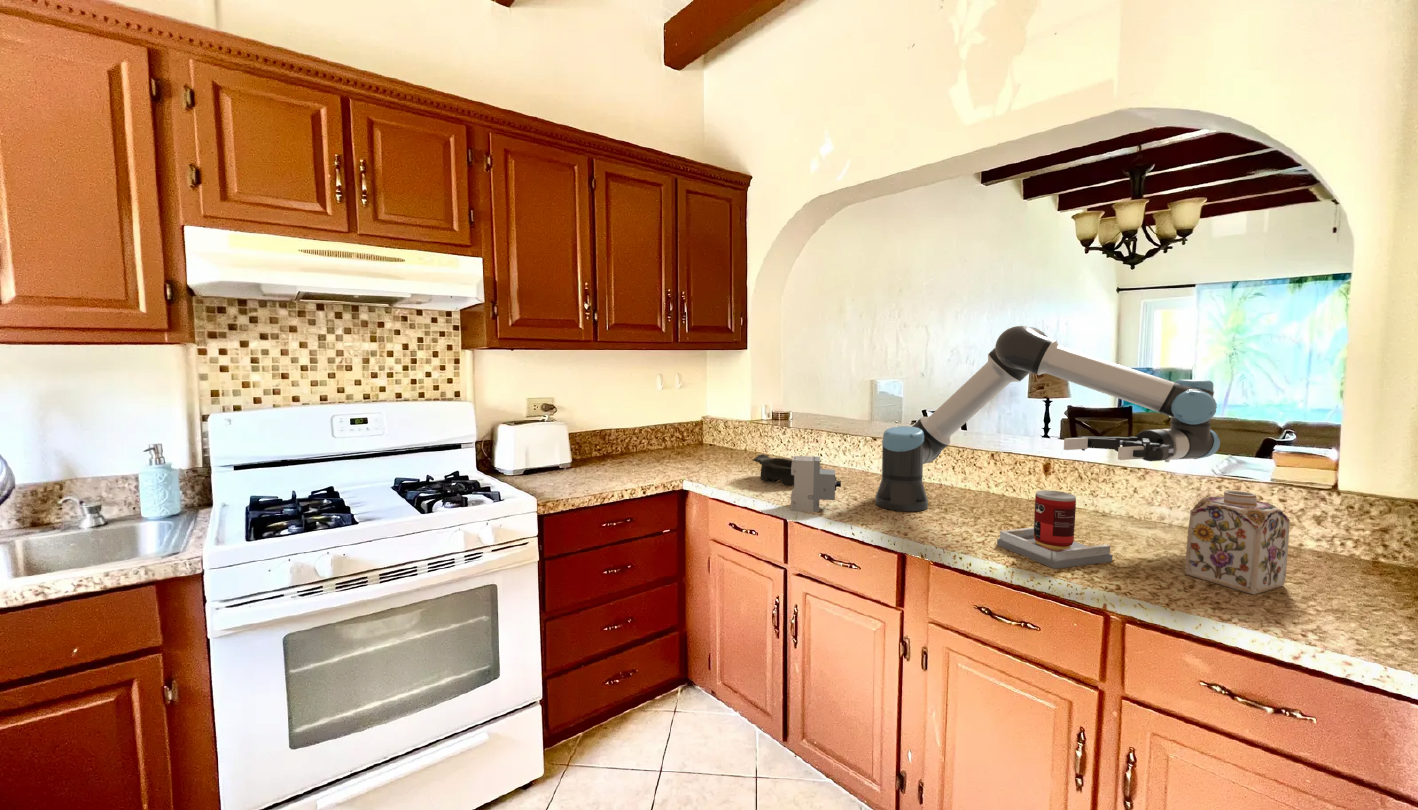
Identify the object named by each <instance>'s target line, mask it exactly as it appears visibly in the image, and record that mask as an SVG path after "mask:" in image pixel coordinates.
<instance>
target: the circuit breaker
mask: <svg viewBox="0 0 1418 810" xmlns="http://www.w3.org/2000/svg"><path fill="white" fill-rule="evenodd" d="M791 459H792V466H791V474H792V475H794V486H793V489H792V490H791V494H790V511H791V512H792V511H793V512H809V513H819V512H820V500H823V501H835V500H836V491H837V488H841V487H842V481H841V480H837V477H836V469H831V468H830V469H827V468H821V469H820V466H821V456H812V455H811V456H809V455H793V456H792V458H791Z"/></svg>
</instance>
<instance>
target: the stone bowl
mask: <svg viewBox="0 0 1418 810" xmlns="http://www.w3.org/2000/svg"><path fill="white" fill-rule="evenodd" d="M792 459H793V458H789V457H788V458H787V457H770V456H768V454H767V455H766V454H758V455H757V456H756V457H755V458H753V459H751V461H753V462H756V463H758V464H760V465H761V468H760V479H761V481H763V482H769V483H773V482H774V483H775V482H779V481H781V482H782V484H783V485H784V486H789V487H794V475H792V474H791V466H792ZM822 467H823V466H821V465H820V469H823V468H822Z"/></svg>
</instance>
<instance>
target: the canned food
mask: <svg viewBox="0 0 1418 810" xmlns="http://www.w3.org/2000/svg"><path fill="white" fill-rule="evenodd" d="M1076 506H1077V497H1076V495H1074V494H1072V493H1069V492H1064V491H1059V490H1050V489H1049V490H1047V489H1046V490H1043V489H1042V490H1037V491H1036V492H1035V497H1034V514H1033V516H1034V518H1033V519H1034V520H1033V527H1034V538H1035V540H1036V541H1038V542H1040V543H1043V544H1047V545H1051V546H1060V547H1066V546H1071V545H1072V544H1073V542H1075V527H1076V524H1075V523H1076V512H1077V511H1076V509H1077V507H1076Z"/></svg>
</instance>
